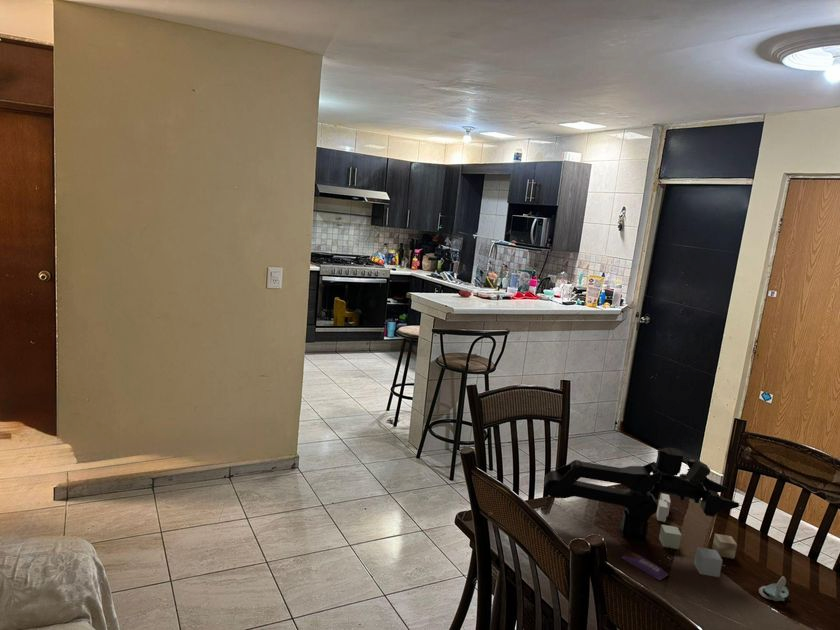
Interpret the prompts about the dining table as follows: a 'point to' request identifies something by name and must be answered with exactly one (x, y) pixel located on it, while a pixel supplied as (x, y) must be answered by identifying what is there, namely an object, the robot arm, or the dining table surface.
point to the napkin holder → (663, 507)
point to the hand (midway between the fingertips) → (733, 497)
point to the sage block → (670, 536)
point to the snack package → (645, 565)
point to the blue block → (708, 561)
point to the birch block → (724, 545)
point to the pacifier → (775, 590)
